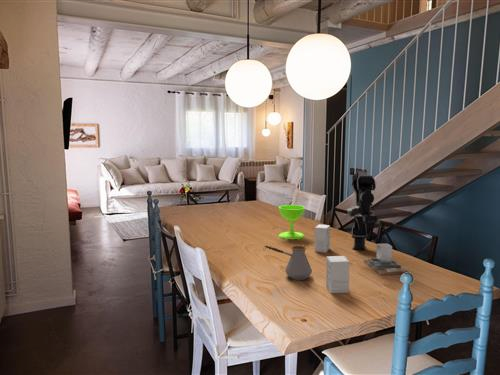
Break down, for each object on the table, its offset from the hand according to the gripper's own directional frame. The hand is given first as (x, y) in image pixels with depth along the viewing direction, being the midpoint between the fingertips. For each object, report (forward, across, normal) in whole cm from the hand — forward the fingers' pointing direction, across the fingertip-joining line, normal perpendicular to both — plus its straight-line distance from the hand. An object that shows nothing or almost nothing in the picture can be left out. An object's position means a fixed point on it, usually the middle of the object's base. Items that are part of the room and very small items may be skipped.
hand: (363, 232), depth 191 cm
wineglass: (+13, -47, -26) cm, 55 cm away
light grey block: (+12, +14, +4) cm, 19 cm away
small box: (+13, -16, -16) cm, 26 cm away
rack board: (+13, +15, +4) cm, 21 cm away
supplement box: (+13, +38, -26) cm, 48 cm away
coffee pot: (+13, +23, -43) cm, 50 cm away
